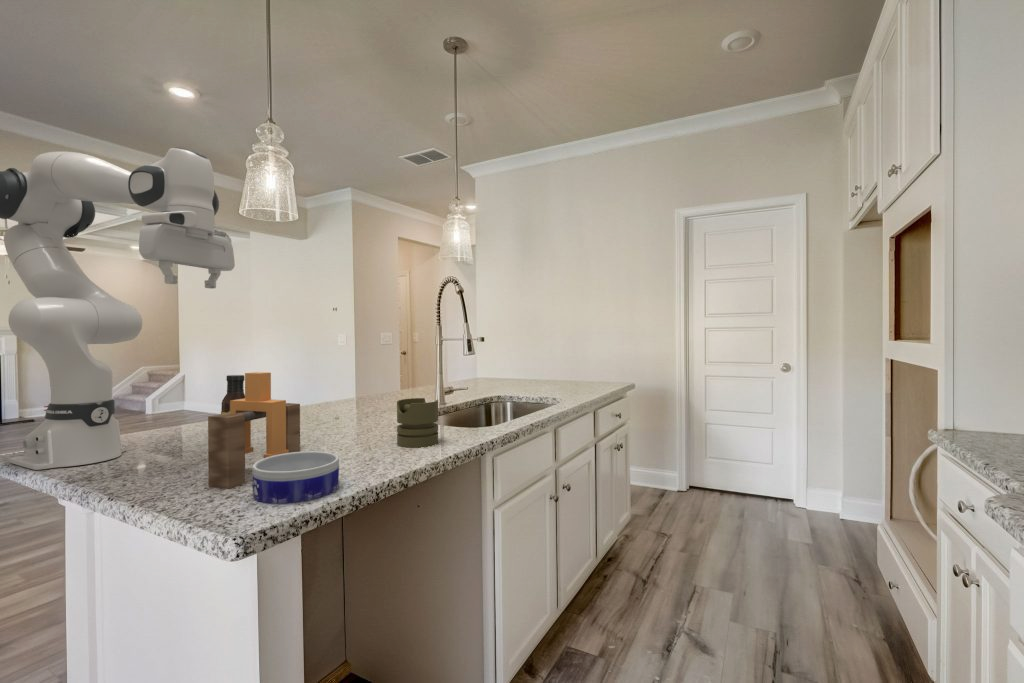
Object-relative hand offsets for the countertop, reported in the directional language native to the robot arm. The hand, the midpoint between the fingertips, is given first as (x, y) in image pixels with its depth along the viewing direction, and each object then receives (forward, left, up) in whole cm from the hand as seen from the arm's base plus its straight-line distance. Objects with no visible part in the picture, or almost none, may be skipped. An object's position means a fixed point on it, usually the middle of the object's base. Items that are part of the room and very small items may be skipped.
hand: (191, 286), depth 104 cm
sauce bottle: (-6, +17, -41) cm, 45 cm away
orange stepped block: (+16, +2, -37) cm, 40 cm away
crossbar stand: (+16, +2, -41) cm, 44 cm away
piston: (+36, +38, -41) cm, 67 cm away
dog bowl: (+32, -5, -42) cm, 53 cm away
